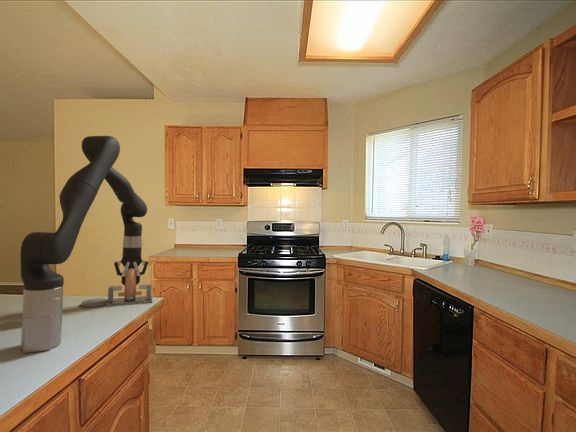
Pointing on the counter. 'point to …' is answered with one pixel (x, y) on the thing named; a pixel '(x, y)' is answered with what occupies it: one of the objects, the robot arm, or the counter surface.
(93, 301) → the coaster
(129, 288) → the knob
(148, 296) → the keeper post
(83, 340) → the counter surface
